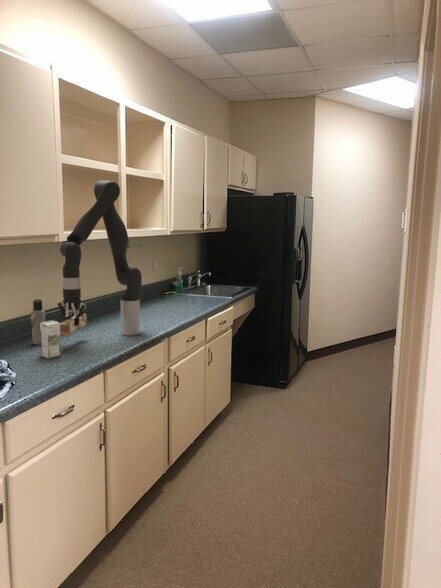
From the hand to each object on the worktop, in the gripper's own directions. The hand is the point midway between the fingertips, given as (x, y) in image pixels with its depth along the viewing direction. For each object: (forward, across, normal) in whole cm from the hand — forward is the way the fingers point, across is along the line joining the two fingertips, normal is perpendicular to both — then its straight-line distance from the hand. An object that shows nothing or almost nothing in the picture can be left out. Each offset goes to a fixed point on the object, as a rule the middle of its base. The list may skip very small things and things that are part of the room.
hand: (72, 325), depth 205 cm
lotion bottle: (+9, +16, +2) cm, 19 cm away
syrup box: (+9, 0, +17) cm, 20 cm away
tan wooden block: (+2, 0, 0) cm, 2 cm away
